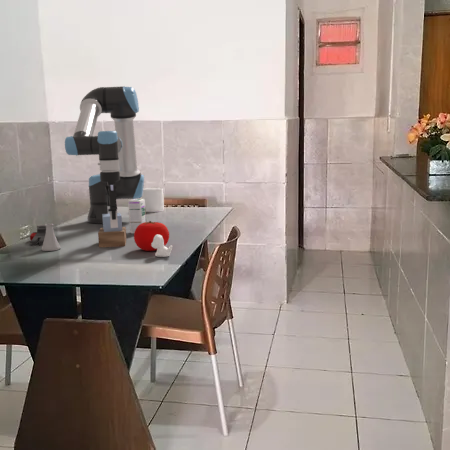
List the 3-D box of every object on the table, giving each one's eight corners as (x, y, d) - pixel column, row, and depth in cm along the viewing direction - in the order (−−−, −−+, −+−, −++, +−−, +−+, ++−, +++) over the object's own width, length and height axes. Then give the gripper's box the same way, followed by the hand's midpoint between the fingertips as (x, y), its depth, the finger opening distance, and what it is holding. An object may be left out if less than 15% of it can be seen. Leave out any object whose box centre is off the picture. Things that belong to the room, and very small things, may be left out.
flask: (43, 247, 218) (41, 222, 216) (62, 247, 219) (60, 222, 217) (39, 252, 211) (37, 226, 209) (58, 251, 212) (56, 225, 210)
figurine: (153, 254, 202) (152, 233, 201) (175, 254, 201) (174, 232, 200) (150, 258, 197) (149, 236, 196) (172, 258, 196) (171, 236, 195)
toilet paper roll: (162, 212, 298) (161, 189, 296) (140, 212, 298) (139, 190, 296) (165, 208, 309) (164, 187, 307) (144, 209, 310) (143, 187, 307)
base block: (101, 242, 226) (100, 228, 225) (126, 241, 227) (125, 226, 226) (99, 247, 216) (98, 232, 215) (125, 246, 217) (124, 231, 216)
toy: (49, 251, 224) (58, 236, 238) (47, 236, 222) (56, 223, 236) (27, 251, 224) (37, 237, 238) (25, 237, 221) (35, 223, 235)
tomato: (131, 248, 213) (129, 220, 211) (164, 244, 218) (163, 217, 216) (139, 255, 202) (137, 225, 200) (173, 250, 207) (172, 221, 205)
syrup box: (142, 233, 241) (140, 200, 238) (129, 233, 242) (127, 200, 239) (147, 231, 246) (145, 198, 243) (134, 231, 247) (132, 198, 245)
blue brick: (103, 228, 223) (102, 214, 222) (120, 227, 225) (120, 212, 224) (104, 232, 216) (103, 216, 215) (122, 230, 218) (121, 215, 217)
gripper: (98, 169, 227) (101, 220, 231) (101, 174, 204) (105, 231, 208) (116, 168, 229) (119, 218, 233) (122, 173, 206) (125, 229, 210)
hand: (113, 224), depth 220 cm, fingers open, 13 cm apart
